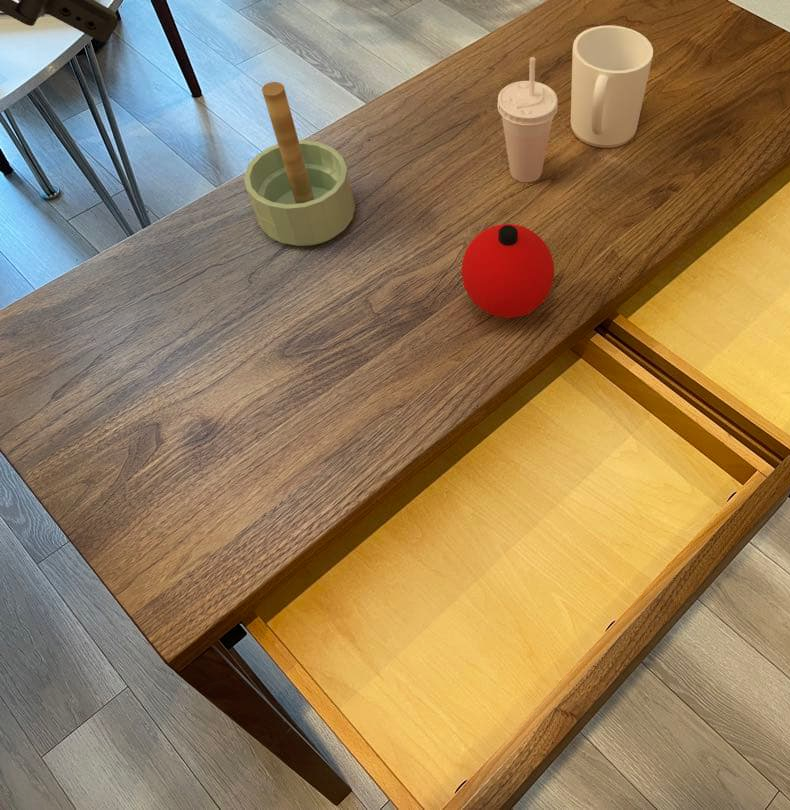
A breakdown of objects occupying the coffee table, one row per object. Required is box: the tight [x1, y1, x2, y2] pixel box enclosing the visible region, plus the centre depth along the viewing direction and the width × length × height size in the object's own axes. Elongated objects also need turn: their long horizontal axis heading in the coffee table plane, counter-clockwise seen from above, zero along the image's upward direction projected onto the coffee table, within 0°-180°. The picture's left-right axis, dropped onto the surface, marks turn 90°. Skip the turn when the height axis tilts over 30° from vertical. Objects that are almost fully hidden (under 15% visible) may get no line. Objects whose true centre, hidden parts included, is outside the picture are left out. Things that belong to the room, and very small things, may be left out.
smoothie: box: [496, 56, 559, 183], centre depth 84 cm, size 6×6×14 cm
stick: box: [261, 81, 314, 204], centre depth 78 cm, size 2×2×15 cm
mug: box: [570, 24, 654, 149], centre depth 90 cm, size 11×9×10 cm
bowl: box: [243, 139, 356, 247], centre depth 82 cm, size 10×10×6 cm
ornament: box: [461, 223, 555, 319], centre depth 75 cm, size 9×9×10 cm
